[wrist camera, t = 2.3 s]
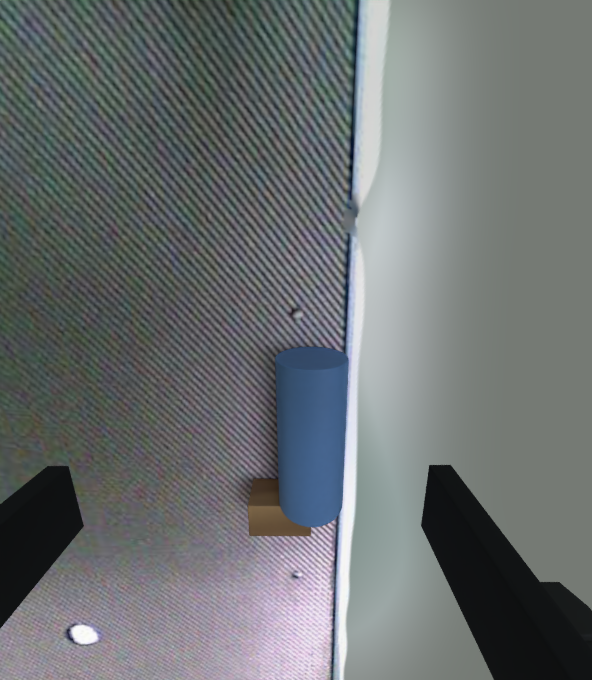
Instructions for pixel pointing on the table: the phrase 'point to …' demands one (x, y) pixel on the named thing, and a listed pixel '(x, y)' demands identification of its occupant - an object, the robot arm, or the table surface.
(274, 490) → the brown rectangular block
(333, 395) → the tube
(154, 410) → the table surface
